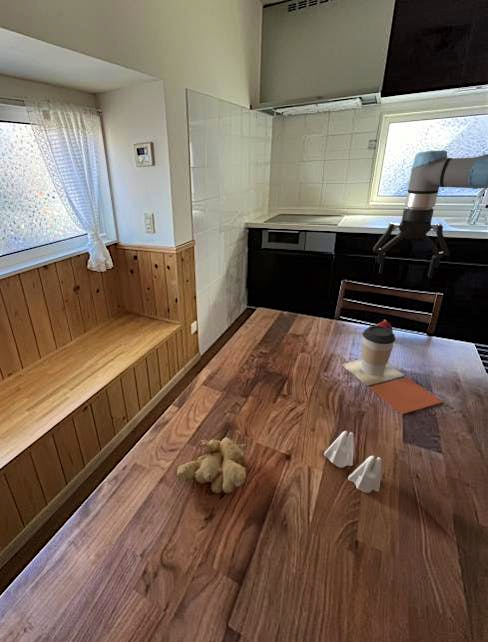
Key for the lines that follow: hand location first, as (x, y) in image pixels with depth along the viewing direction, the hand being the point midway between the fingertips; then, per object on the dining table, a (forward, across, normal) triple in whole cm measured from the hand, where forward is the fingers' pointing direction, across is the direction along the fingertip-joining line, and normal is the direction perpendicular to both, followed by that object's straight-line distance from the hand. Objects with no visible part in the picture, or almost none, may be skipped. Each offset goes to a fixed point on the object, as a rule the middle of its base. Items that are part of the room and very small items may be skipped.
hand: (404, 274), depth 109 cm
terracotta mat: (+29, -3, +25) cm, 38 cm away
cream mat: (+29, +5, +15) cm, 33 cm away
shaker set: (+29, +10, +60) cm, 67 cm away
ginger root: (+29, +38, +70) cm, 85 cm away
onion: (+29, +2, -8) cm, 30 cm away
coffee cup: (+28, +5, +15) cm, 33 cm away
